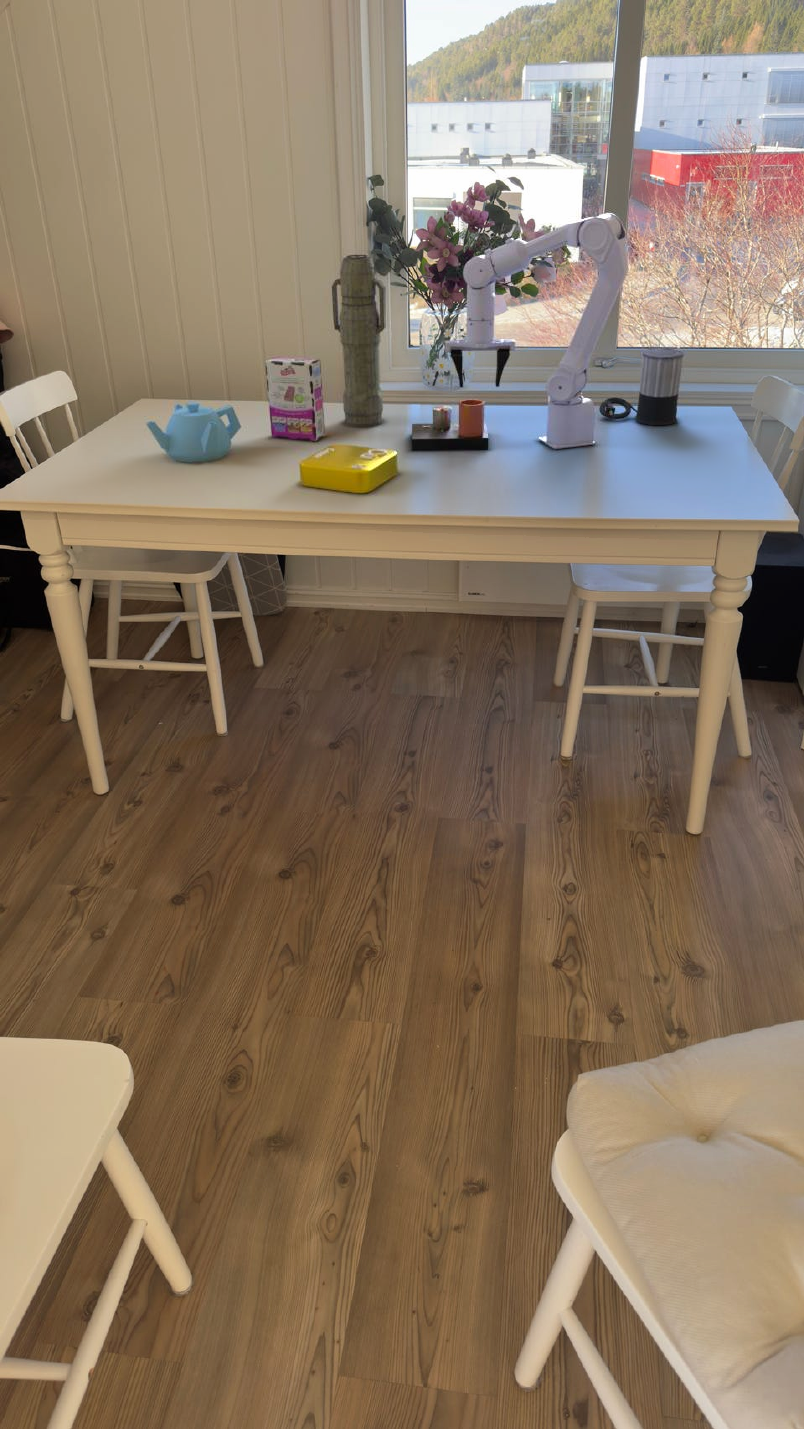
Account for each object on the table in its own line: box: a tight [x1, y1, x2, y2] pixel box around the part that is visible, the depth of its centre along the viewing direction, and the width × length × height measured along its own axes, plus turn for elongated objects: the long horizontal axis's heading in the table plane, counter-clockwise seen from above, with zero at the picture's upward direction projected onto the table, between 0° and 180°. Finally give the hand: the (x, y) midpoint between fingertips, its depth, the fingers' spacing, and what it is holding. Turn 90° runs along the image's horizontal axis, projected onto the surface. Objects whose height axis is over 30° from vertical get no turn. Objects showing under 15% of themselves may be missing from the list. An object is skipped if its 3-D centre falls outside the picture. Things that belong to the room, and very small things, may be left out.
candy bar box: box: [264, 356, 326, 442], centre depth 221 cm, size 11×5×16 cm, turn 68°
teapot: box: [145, 401, 242, 464], centre depth 212 cm, size 15×15×11 cm
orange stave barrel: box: [458, 398, 485, 437], centre depth 214 cm, size 5×5×6 cm
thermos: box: [331, 254, 387, 428], centre depth 226 cm, size 9×12×35 cm
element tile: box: [298, 443, 398, 494], centre depth 198 cm, size 15×15×5 cm
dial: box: [432, 405, 452, 429], centre depth 219 cm, size 4×4×4 cm
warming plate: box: [411, 422, 489, 452], centre depth 219 cm, size 16×13×3 cm
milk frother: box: [598, 347, 685, 426], centre depth 228 cm, size 14×16×15 cm
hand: (479, 386), depth 219 cm, fingers open, 7 cm apart
